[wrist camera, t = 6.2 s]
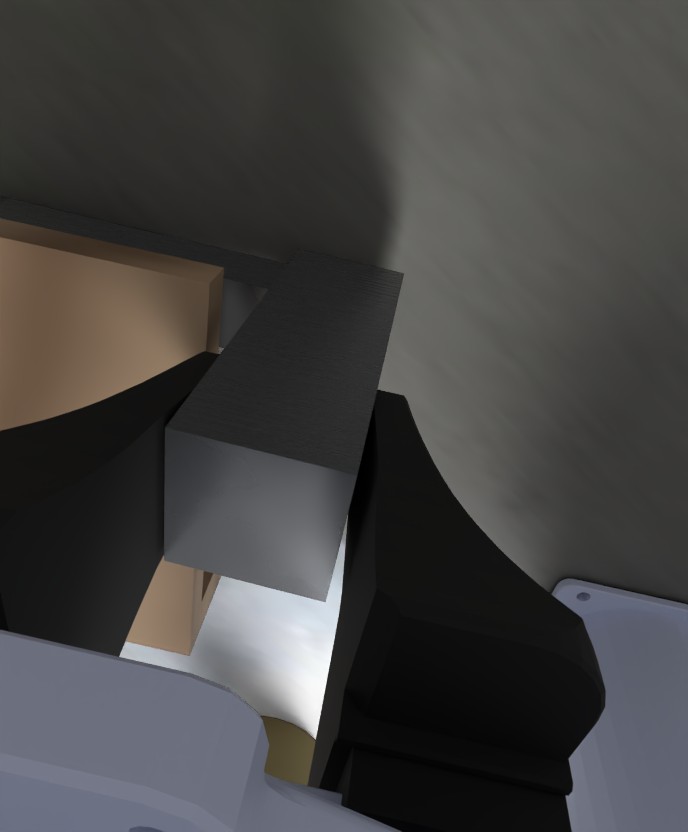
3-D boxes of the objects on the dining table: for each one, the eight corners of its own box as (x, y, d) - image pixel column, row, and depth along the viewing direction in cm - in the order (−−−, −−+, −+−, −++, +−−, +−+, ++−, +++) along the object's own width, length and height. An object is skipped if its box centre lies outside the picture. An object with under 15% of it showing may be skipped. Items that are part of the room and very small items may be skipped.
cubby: (275, 212, 17) (209, 283, 12) (239, 528, 24) (189, 655, 19) (-25, 146, 17) (-212, 190, 12) (28, 481, 24) (-77, 595, 19)
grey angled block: (403, 273, 16) (357, 475, 9) (348, 498, 21) (287, 753, 14) (-58, 165, 17) (-473, 269, 9) (-10, 408, 21) (-259, 607, 14)
